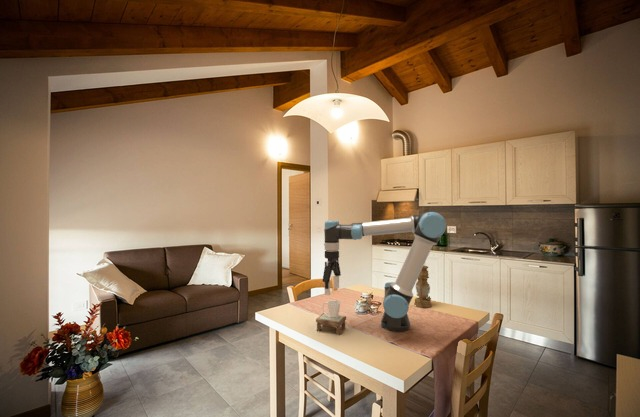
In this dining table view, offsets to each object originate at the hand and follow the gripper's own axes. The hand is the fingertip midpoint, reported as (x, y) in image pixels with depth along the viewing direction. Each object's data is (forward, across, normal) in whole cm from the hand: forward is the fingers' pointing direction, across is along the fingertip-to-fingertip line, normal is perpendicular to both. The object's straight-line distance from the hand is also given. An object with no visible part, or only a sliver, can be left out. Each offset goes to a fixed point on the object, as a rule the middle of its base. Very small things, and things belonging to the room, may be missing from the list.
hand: (332, 291), depth 156 cm
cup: (+14, 0, -1) cm, 14 cm away
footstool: (+20, 0, -1) cm, 20 cm away
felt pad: (+14, 0, -1) cm, 14 cm away
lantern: (+21, -60, +40) cm, 75 cm away
